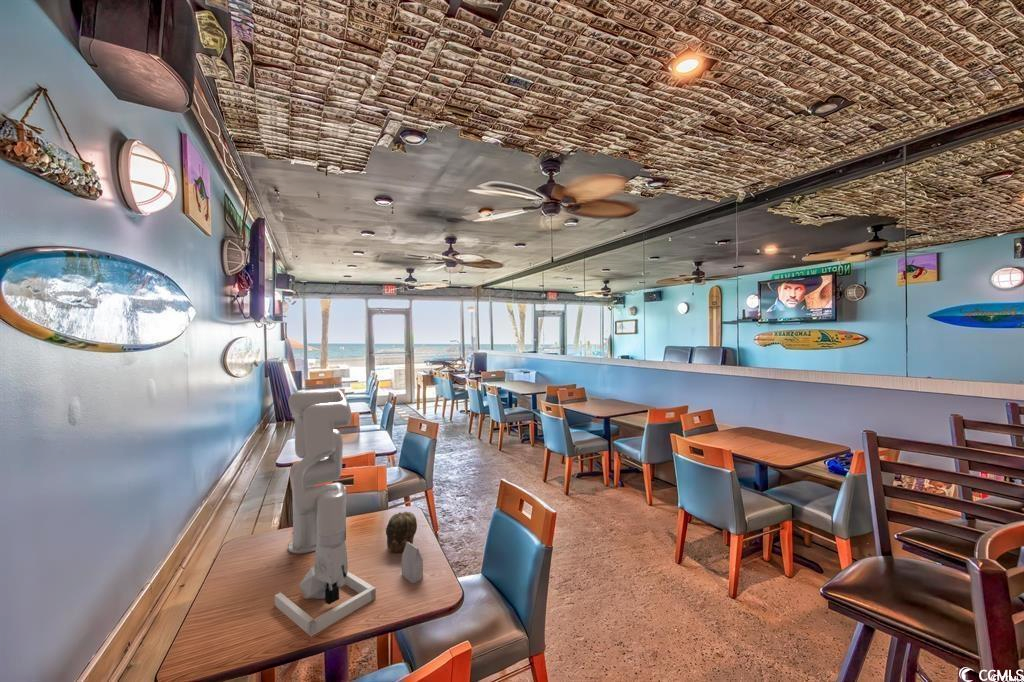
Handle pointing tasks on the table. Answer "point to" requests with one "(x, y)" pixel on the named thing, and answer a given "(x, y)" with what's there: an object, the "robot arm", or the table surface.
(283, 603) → the bay
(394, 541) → the shell
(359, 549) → the table surface
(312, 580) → the die
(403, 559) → the grey faceted angular block
